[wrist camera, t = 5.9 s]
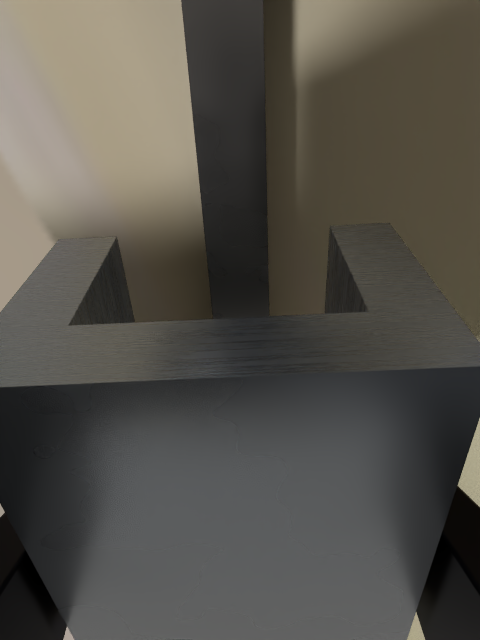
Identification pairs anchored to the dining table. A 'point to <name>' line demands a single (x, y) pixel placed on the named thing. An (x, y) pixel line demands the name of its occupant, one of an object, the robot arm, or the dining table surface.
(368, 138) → the dining table surface
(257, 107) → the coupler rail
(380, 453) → the block
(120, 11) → the dining table surface
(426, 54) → the dining table surface
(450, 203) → the dining table surface
